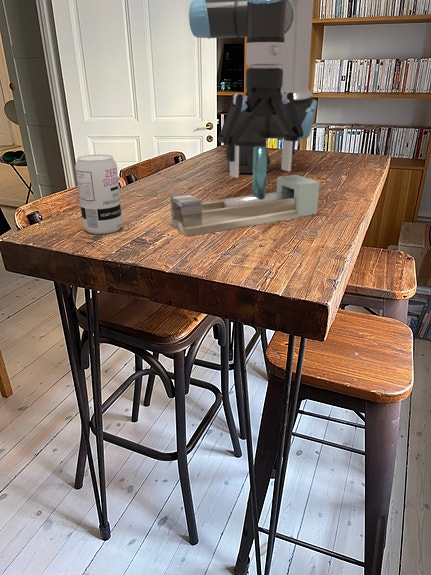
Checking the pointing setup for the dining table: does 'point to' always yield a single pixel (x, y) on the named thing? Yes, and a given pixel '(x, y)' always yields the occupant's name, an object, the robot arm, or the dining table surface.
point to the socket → (301, 193)
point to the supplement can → (99, 193)
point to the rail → (225, 214)
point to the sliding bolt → (258, 184)
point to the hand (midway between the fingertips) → (260, 173)
